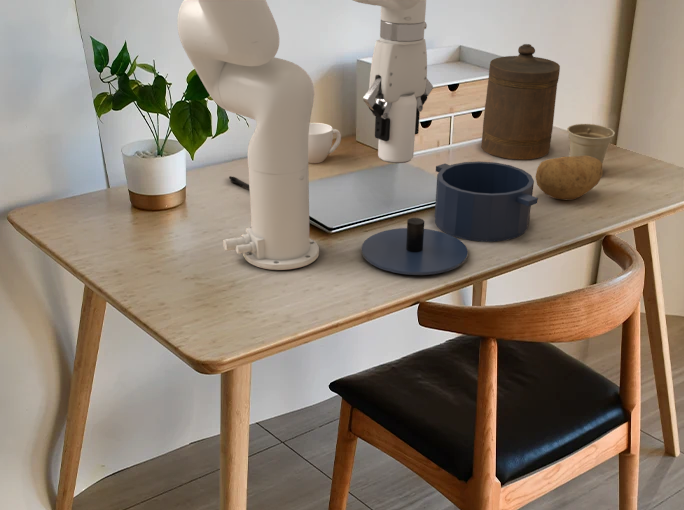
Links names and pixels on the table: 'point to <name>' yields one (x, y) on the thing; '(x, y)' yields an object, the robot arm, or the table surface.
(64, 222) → the table surface
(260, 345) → the table surface
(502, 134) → the wooden container
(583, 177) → the potato
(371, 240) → the lid
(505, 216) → the pot
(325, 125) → the cup
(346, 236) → the table surface
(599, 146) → the flower pot
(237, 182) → the pen
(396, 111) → the can
